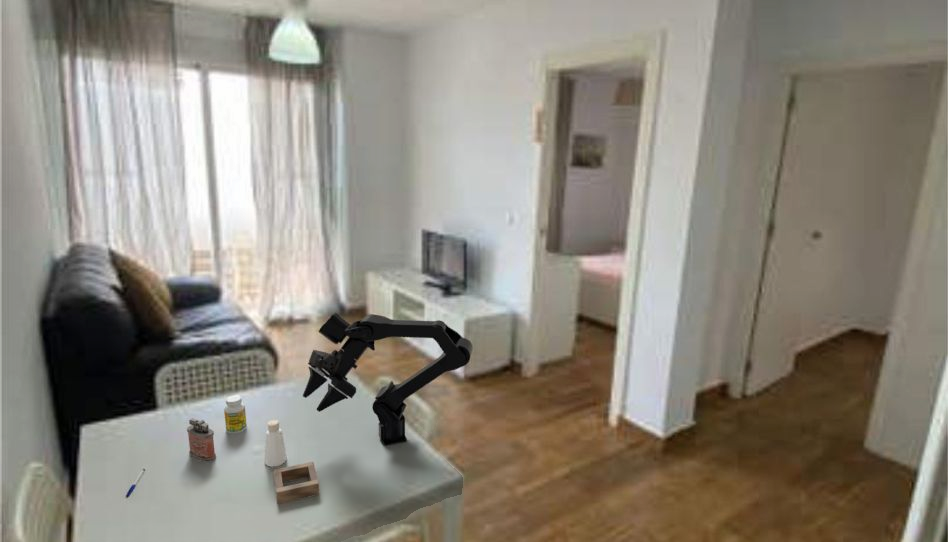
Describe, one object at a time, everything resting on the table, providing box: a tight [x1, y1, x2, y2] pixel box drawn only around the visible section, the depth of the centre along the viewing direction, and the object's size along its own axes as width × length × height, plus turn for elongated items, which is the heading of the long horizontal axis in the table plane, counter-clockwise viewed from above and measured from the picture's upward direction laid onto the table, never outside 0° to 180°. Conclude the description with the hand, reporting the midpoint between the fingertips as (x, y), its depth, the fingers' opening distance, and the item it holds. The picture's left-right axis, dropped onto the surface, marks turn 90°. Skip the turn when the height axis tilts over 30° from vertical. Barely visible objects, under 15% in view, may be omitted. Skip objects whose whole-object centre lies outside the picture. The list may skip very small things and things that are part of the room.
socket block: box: [273, 461, 320, 505], centre depth 125 cm, size 9×9×3 cm
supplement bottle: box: [223, 394, 248, 435], centre depth 148 cm, size 5×5×10 cm
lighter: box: [186, 417, 217, 463], centre depth 135 cm, size 8×3×10 cm, turn 65°
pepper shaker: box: [263, 419, 288, 467], centre depth 134 cm, size 5×5×11 cm
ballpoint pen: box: [125, 468, 146, 498], centre depth 125 cm, size 10×1×1 cm, turn 14°
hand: (310, 403), depth 137 cm, fingers open, 9 cm apart
